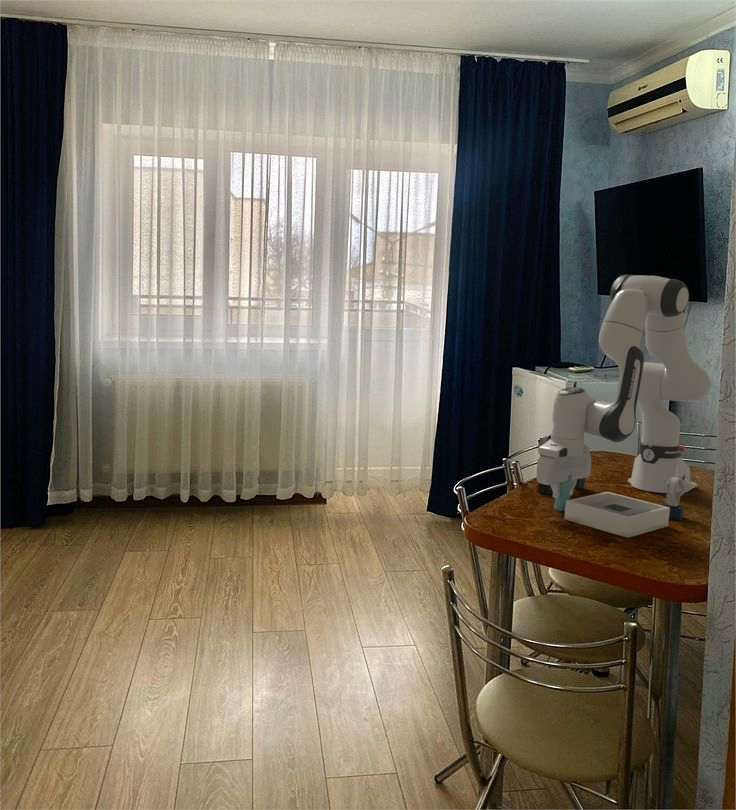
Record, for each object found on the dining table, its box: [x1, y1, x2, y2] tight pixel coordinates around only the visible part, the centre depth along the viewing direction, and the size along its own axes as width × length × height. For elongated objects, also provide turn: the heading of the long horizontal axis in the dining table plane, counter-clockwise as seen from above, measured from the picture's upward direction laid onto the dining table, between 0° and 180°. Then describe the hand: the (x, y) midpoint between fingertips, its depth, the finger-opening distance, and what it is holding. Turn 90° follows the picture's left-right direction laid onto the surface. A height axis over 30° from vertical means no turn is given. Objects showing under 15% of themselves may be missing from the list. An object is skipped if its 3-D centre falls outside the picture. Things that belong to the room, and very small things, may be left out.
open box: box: [563, 491, 670, 539], centre depth 221 cm, size 19×19×5 cm
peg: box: [553, 475, 572, 512], centre depth 231 cm, size 4×4×10 cm
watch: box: [661, 477, 686, 521], centre depth 229 cm, size 6×8×11 cm
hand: (562, 496), depth 231 cm, fingers closed on peg, 4 cm apart
